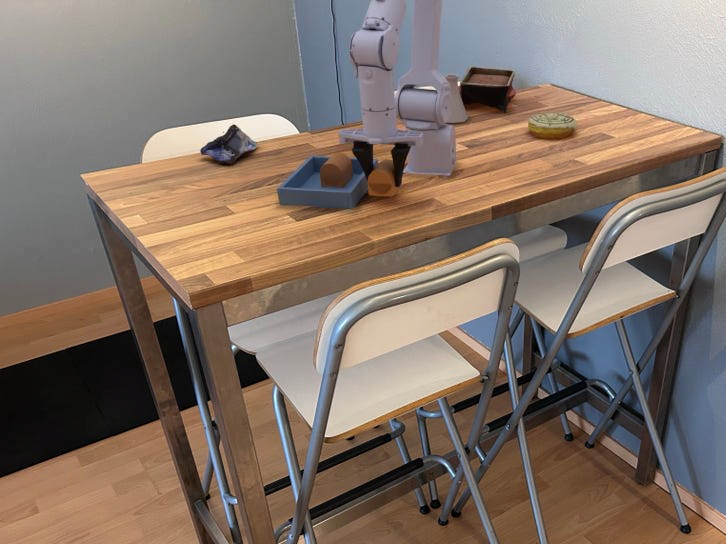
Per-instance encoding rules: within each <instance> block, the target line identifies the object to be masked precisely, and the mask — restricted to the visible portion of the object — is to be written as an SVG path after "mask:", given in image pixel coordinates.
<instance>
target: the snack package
mask: <svg viewBox="0 0 726 544" xmlns="http://www.w3.org/2000/svg"><path fill="white" fill-rule="evenodd" d="M222 134H223V135H219V136H218V137H215V139H213V140H212V141H209V142H207V143H206V144H205V145H204V146H202V147H201V148H200V150H199V151H200V154H201V155H202V156H209V157H211V158H213V159H214V160H215V162H216V163H218V164H223V165H224V164H227V165H233V164H234V163H235V161H236V160H237V159H239V158H240V157H241V156H242V155H244V154H245V153H248V152H251V151H254V150H255V149H256V148H257V147H258V145H259V143H258V142H257V141H255V140H253V139H252V138H251V137H250V136H249V135H248V134H246V133H245V132H244V131H243V130H242V129H241V128H240V127H239V126H238V125H236V124H235V123H234V124H231V125H230V126H229V127H228V129H227V131H226V132H225V131H223V132H222ZM205 159H206V158H205V157H204V158H203V160H205Z"/></svg>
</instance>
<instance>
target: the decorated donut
mask: <svg viewBox="0 0 726 544" xmlns="http://www.w3.org/2000/svg"><path fill="white" fill-rule="evenodd" d="M527 121H528V122H527V126H528V127H527V128H528V130H529V131H530V133H531V134H532V135H534V136H536V137H537V138H541V139H546V140H550V139H557V140H559V139H565V138H566V137H568V136H570V135H571V134H573V133H574V132H575V131H577V130H578V122H577V120H576V118H575V117H573V116H572V115H569V114H567V113H565V112H558V111H557V112H543V113H537V114H534V115H531V116H530V117H529V118H528V120H527Z"/></svg>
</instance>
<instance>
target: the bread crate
mask: <svg viewBox="0 0 726 544" xmlns="http://www.w3.org/2000/svg"><path fill="white" fill-rule="evenodd" d="M330 157H331V156H326V155H325V156H324V155H310V156H309V157H307V159H305V160H304V161H303V162H302V163H301V165H299V166H298V167H297V168H296V169H295V170H294V171H293V172H292V173H291V174H290V175H289V176H288V177H287V178H286V179H285V180H284V181H283V182H282V183H280V185H278V187H276V193H277V198H278V204H279V206H292V207H294V206H295V207H309V208H328V209H342V210H343V209H345V210H353V209H354V208H355V207H356V205H357V204H358V203H359V202H360V200H361V199H362V198H363V196H364V195H365V194H366V193H367V191H369V190H368V182H367V179H366V176H365V174H364V171H363V169H362V167H361V165H360V163H359V162H358V160H357V158H356V157H349V158H350V160H351V162H352V169H353V177H352V178H351V180H350V181H349V182H348V183H347V185H346V186H345V187H344V188H338V187H321V180H320V169H321V167H322V166H323V165H324V164H325V163H326V162H327V161H328V159H329V158H330ZM378 164H379V159H378V158H373V165H374V169H375V167H376V166H377V165H378Z"/></svg>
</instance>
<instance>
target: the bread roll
mask: <svg viewBox="0 0 726 544" xmlns="http://www.w3.org/2000/svg"><path fill="white" fill-rule="evenodd" d="M399 189H400V187H396V186H395V180H394V165H393V160H392V159H390V158H385V159H382V160H380V161H378V165H377V166H376V167H375V169H374V170H373V171H372V173H371V174H370V175H369V177H368V190H367V191H368V196H375V197H390V198H393V197H395V194H396V193H397V191H398V190H399Z"/></svg>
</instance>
